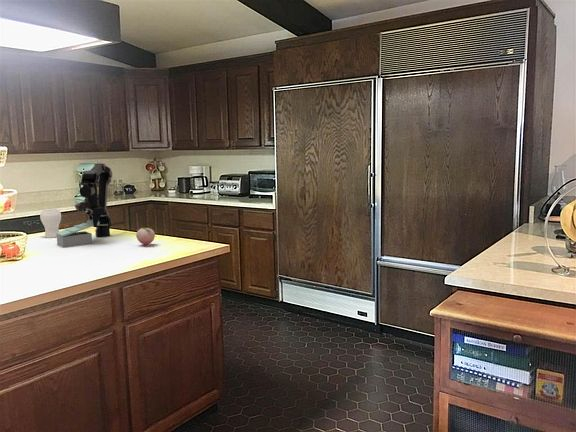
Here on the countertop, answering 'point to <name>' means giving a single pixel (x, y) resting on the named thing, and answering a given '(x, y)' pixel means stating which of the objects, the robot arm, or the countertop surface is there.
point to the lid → (76, 228)
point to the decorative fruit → (145, 235)
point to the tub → (75, 239)
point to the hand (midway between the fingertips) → (94, 225)
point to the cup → (51, 221)
